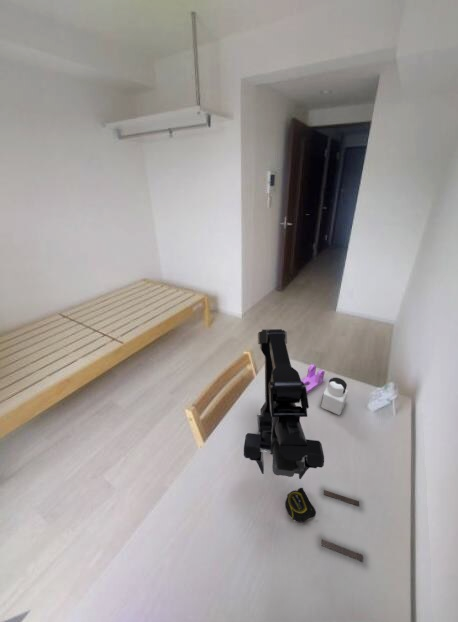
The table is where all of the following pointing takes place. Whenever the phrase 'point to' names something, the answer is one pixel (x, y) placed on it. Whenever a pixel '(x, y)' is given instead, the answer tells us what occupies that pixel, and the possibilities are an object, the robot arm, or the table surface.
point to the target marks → (336, 547)
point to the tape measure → (299, 506)
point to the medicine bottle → (335, 396)
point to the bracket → (313, 378)
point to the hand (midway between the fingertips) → (281, 475)
